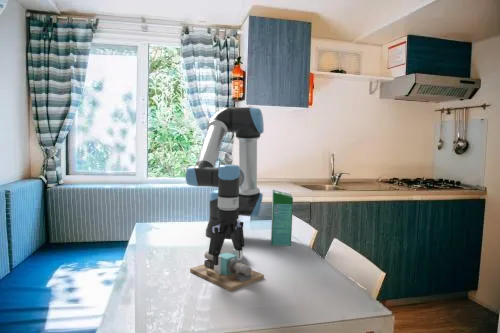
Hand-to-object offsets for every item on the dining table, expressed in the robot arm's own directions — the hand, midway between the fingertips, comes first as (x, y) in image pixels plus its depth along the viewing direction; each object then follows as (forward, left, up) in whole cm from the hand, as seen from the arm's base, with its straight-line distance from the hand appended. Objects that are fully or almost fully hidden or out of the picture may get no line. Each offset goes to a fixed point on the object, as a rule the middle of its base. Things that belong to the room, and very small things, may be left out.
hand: (226, 270), depth 125 cm
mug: (-13, +14, -2) cm, 19 cm away
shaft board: (0, 0, -2) cm, 2 cm away
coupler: (0, 0, -1) cm, 1 cm away
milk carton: (-12, +46, -2) cm, 48 cm away
